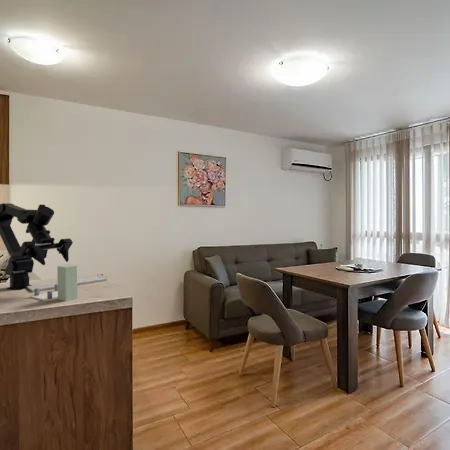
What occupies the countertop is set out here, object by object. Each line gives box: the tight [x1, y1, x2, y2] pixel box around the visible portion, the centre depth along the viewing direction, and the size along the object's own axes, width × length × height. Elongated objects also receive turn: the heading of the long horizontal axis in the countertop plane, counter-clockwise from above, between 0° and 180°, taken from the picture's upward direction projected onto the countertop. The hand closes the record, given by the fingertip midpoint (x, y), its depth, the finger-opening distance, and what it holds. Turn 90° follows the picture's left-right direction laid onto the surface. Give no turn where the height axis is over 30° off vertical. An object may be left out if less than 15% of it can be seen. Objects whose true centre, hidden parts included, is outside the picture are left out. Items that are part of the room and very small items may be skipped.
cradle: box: [30, 284, 58, 302], centre depth 119 cm, size 10×12×3 cm
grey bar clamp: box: [25, 273, 108, 293], centre depth 139 cm, size 31×3×12 cm
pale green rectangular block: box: [56, 264, 78, 302], centre depth 115 cm, size 5×4×12 cm
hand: (56, 262), depth 118 cm, fingers open, 9 cm apart
